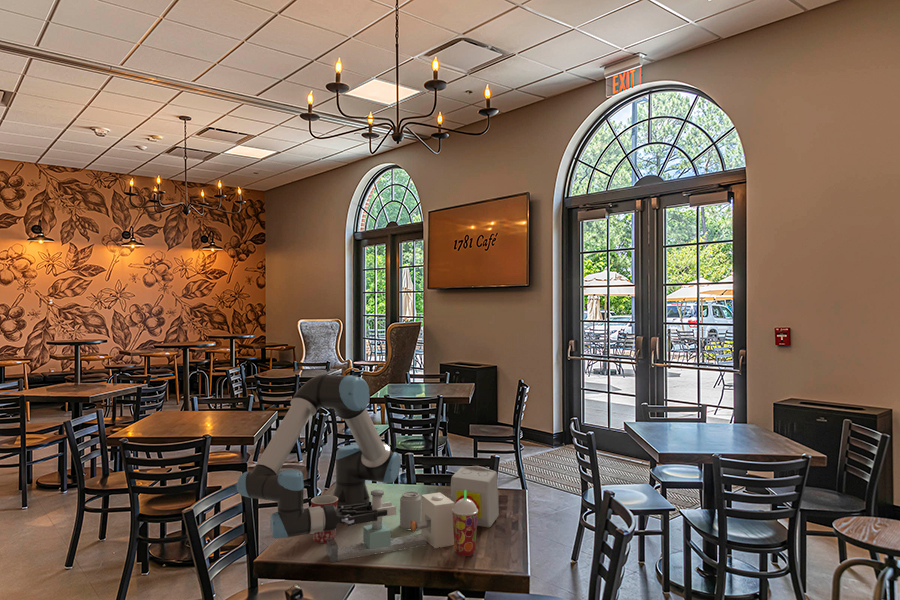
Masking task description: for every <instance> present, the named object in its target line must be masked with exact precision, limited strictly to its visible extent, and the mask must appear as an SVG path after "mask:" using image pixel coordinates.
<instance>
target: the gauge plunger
mask: <svg viewBox="0 0 900 600" xmlns="http://www.w3.org/2000/svg"><path fill="white" fill-rule="evenodd" d="M429 527H431V520H425V521H419V522H415V521H414V520H413V521H410V529H411V530H410V532H411V533H415V532H416V530H421V529H423V528H429Z"/></svg>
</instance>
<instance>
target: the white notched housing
mask: <svg viewBox="0 0 900 600" xmlns="http://www.w3.org/2000/svg"><path fill="white" fill-rule="evenodd" d="M420 497H421V521H425V520H431V527H429V528H423V529H420V532H421V533H420V534H422V535H423V536H424V537H425V538H426V539H427V542H428V544H429V545H431V546H432V547H433V548H434V549H440V548H444V547H451V546H454V531H453V512H452V509H453V508H454V506H455V503H454V502H453V501H451V498H449V497H448V496H445V495H444V494H443V493H442V492H440V491H439V492H432V493H426V494H421V496H420ZM439 547H440V548H439Z"/></svg>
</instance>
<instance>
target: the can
mask: <svg viewBox="0 0 900 600" xmlns="http://www.w3.org/2000/svg"><path fill="white" fill-rule="evenodd" d="M399 502H400V505H399V508H400V509H399V513H400V514H399V525H400V527H401V528H402V529H403V528H404V529H403V530H406V529H410V521H413V520H414V521H415V522H419V521H421V496H420V493H419V492H417V491H405V492H403V493H402V494H401V496H400V501H399Z"/></svg>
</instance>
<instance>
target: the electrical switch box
mask: <svg viewBox="0 0 900 600" xmlns="http://www.w3.org/2000/svg"><path fill="white" fill-rule="evenodd" d="M498 487H499V486H498V473H497V471H495V470H492V469H489V468H486V467H483V466H479V465H472V466H461V467H460V468H459V469H458V470H457V471H456V472H455V473H454V474H453V475H452V476H451V479H450V500H451V501H453V502H454V503H455V504H456V502H457V501H459V500H460V499H463V498H464V490H466V498H467V499H470V500H472V501H473V502H474V503H475V505H476V507H477V509H478V517H477V527H485V528H490V527H491V526H493V524H494V523H495V521H496V520H497V518H498V517H499V515H500V512H499V511H500V510H499V507H500V506H499V493H498V492H499V488H498Z"/></svg>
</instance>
